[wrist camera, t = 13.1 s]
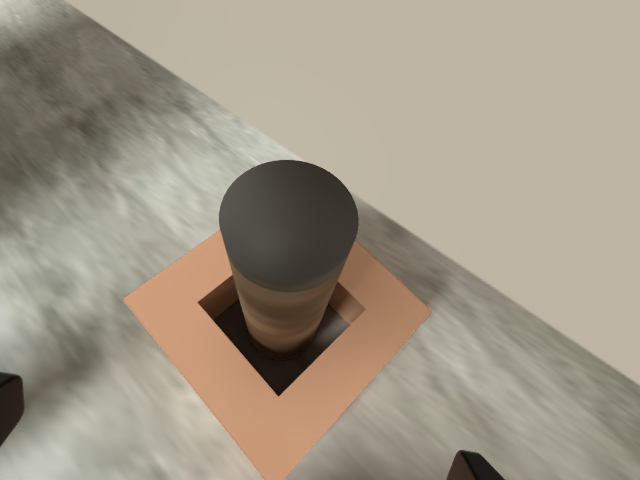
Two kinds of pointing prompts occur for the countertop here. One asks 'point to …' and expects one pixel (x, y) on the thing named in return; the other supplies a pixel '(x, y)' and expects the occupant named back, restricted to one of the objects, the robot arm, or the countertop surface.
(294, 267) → the peg
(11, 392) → the robot arm
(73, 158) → the countertop surface
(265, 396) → the socket block
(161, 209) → the countertop surface
